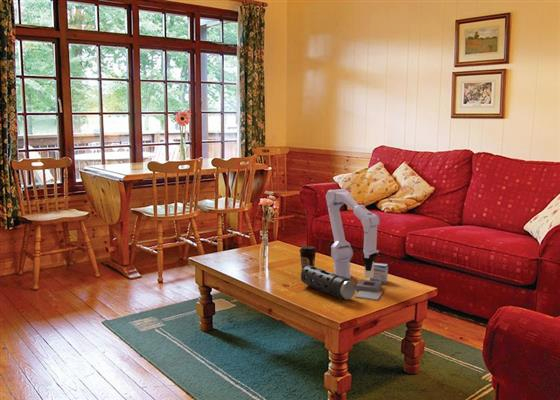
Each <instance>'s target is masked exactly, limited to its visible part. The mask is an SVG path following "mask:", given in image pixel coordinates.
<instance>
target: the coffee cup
mask: <svg viewBox="0 0 560 400" xmlns="http://www.w3.org/2000/svg"><path fill="white" fill-rule="evenodd" d="M299 253H300V254H299V255H300V256H299V259H300V266H301V270H300V271H301V272H302V270H303V269H304V268H305V267H306V266H308V265H311V266H314V267H315V263H316V254H317V249H316V247H315V246H310V245H303V246H301V247H300V249H299ZM307 272H308V271H307Z"/></svg>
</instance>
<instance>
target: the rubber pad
mask: <svg viewBox="0 0 560 400" xmlns="http://www.w3.org/2000/svg"><path fill="white" fill-rule="evenodd" d="M382 295H383V292H382V291H379V292H371V291H363V290H360V291H357V293H356V295H354V296H355V297H354V298H357V299H362V300H363V299H365V300H370V301H379V299H380V297H382Z"/></svg>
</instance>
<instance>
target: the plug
mask: <svg viewBox="0 0 560 400" xmlns="http://www.w3.org/2000/svg"><path fill="white" fill-rule="evenodd" d="M374 263H375V261H373V263H372V268H371V271H366V268H365V267H364V278H368V279H370V278H373V276H374Z"/></svg>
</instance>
